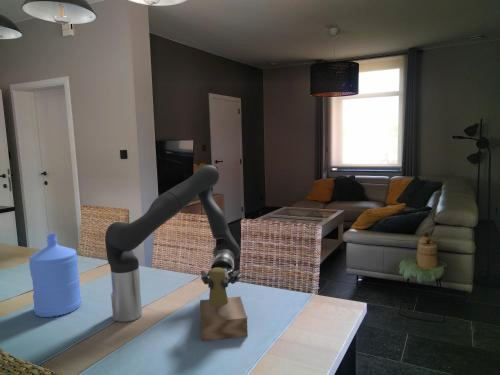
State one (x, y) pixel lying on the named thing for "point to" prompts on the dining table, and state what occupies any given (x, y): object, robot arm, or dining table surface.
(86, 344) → the dining table surface
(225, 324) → the walnut block
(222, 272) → the cork
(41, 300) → the water jug
